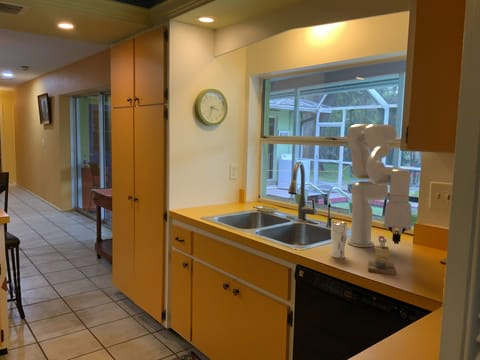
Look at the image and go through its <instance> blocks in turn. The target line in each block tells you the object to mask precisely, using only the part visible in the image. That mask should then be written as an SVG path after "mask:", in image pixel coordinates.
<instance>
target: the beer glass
mask: <svg viewBox="0 0 480 360" xmlns="http://www.w3.org/2000/svg"><path fill="white" fill-rule="evenodd" d="M347 238H348V223H346V222H343V221H332V222H331V229H330V239H331V248H332V249H331V253H330V256H331V257H333V258H335V259H344V258H345V256H346V255H345V253H346V252H345V246H346V243H347V242H346V241H347Z"/></svg>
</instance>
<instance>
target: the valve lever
mask: <svg viewBox="0 0 480 360" xmlns="http://www.w3.org/2000/svg"><path fill="white" fill-rule="evenodd" d="M378 242H379V244H380V245H379V246H380V248H385V246H386V243H387V239H386V238H385V236H384V235H379V236H378Z"/></svg>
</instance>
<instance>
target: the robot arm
mask: <svg viewBox="0 0 480 360" xmlns="http://www.w3.org/2000/svg"><path fill="white" fill-rule="evenodd" d="M396 138H397V130H396V129H395V127H394V126H393V125H392V124H378V123H377V124H371V123H370V124H367V123H359V124H358V123H357V124H353V125H351V126H349V128H348V129H347V133H346V140H347V144H348V147H349V149H350V150H349V151H350V152H351V153H350V154H351V166H352V175H353V177H354V178H355V179H357V180H365V181H357V182H356V181H355V182H353V184H352V186H351V190H350V191H351V198H352V200H351V201H352V206H351V207H352V209H351V212H352V213H351V231H350V239H348V240H347V244H348V245H349V246H353V247H356V248H357V247H358V248H372V247H373V246H375V243H374V241H371V240H372V228H373V227H372V226H373V225H372V224H373V209H372V206H371V205H370V203H369V202H370V201H371V202H372V201H373V202H375V201H376V202H377V201H379V202H380V201H386V200H388V201H387V202H386V205H385V211H384V216H383V217H384V218H383V220H384V221H383V222H384V223H383V226H382V228H384V229H386V230H389V231H390V233H391V234H392V239H391V240H392V242H393V244H394V245H395V244H396V245H399V243H400V242H401V238H402V234H403V233H404V232H409V231H411V230H412V227H411V226H412V204H411V203H410V202H409V201H410V200H409V199H410V188H411V171H410V170H409V169H406V168H405V169H403V168H401V167H391V166H388V167H386V166H385V163H384V162H383V161H381V159H384V158H386V157H387V156H388V155H389V154H390V152H391V147H390V145H389V143H393V142H394V141H395V140H396ZM363 142H366V144H367V146H366V145H365V144H364V143H363ZM367 147H368V148H367ZM366 180H369V181H366ZM396 228H397V229H398V231H397V232H396Z"/></svg>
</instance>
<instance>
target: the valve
mask: <svg viewBox="0 0 480 360" xmlns="http://www.w3.org/2000/svg"><path fill="white" fill-rule="evenodd" d="M389 254H390V247H389V246H386V245H385V248H380V245H375V256H374V257H375V258H374V261H373V260H368V262H367V272H368V273H375V274H384V275H390V276H391V275H392V276H396V268H395V263H390V262H389V257H390V256H389Z"/></svg>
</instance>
